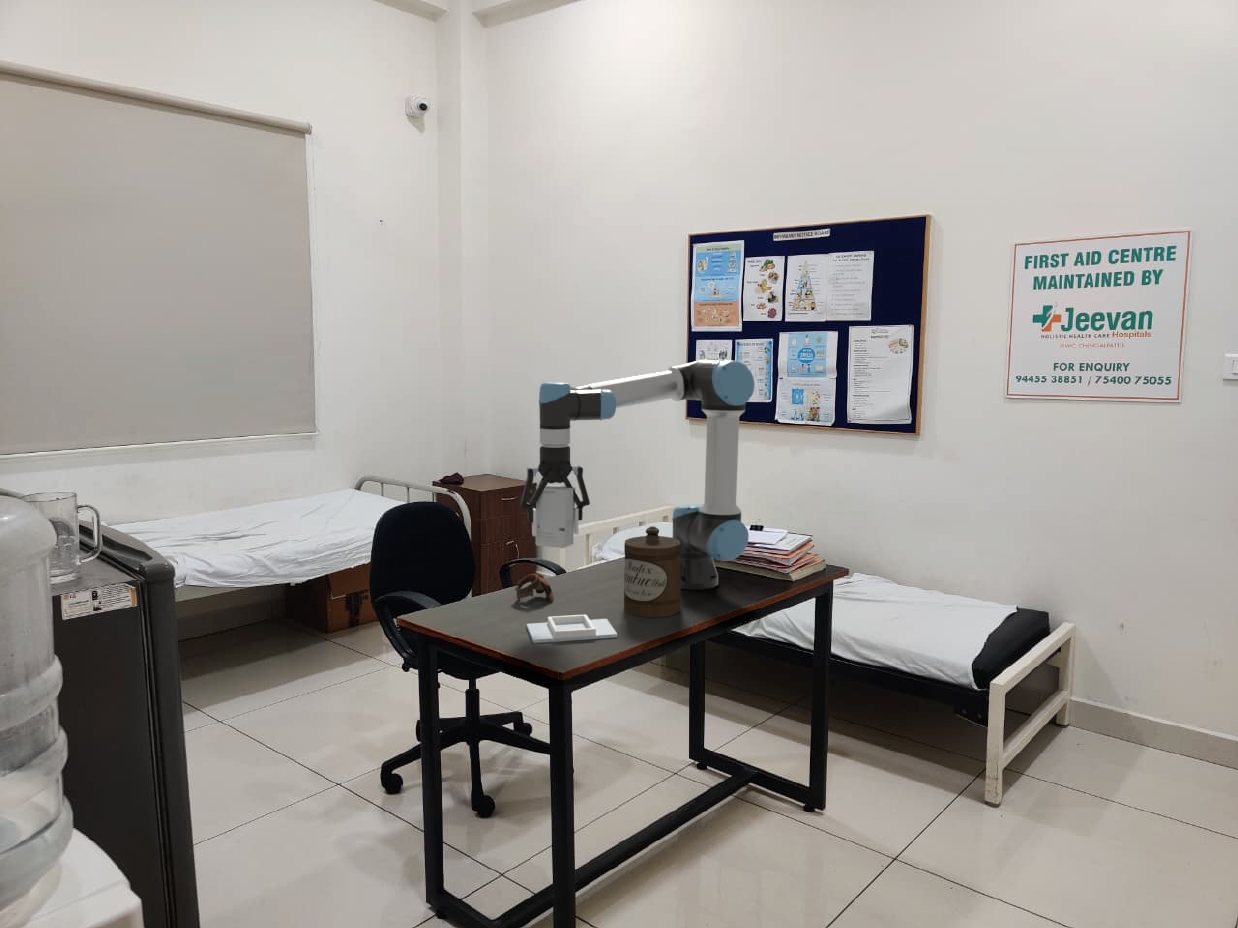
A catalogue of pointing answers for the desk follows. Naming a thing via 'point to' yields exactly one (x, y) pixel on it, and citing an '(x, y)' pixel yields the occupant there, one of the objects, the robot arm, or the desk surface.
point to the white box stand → (570, 629)
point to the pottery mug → (534, 587)
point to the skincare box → (555, 517)
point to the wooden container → (652, 575)
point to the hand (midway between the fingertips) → (555, 534)
